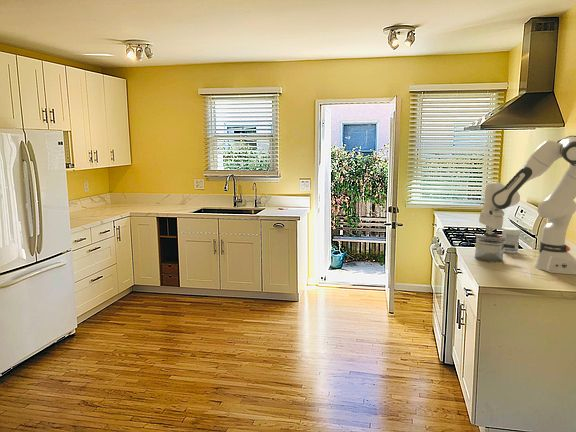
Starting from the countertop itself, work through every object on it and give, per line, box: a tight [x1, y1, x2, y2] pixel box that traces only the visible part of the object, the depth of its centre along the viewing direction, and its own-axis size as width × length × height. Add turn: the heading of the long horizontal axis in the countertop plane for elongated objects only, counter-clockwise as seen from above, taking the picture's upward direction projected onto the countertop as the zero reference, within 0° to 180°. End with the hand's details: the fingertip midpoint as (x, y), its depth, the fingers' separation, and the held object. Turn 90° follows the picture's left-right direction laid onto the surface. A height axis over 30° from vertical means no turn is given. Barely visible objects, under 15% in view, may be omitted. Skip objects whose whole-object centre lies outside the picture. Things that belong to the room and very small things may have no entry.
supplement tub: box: [501, 226, 520, 254], centre depth 288 cm, size 10×10×15 cm
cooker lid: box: [475, 232, 506, 241], centre depth 269 cm, size 16×16×3 cm
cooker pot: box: [474, 237, 515, 263], centre depth 269 cm, size 21×16×11 cm
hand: (488, 233), depth 267 cm, fingers closed
